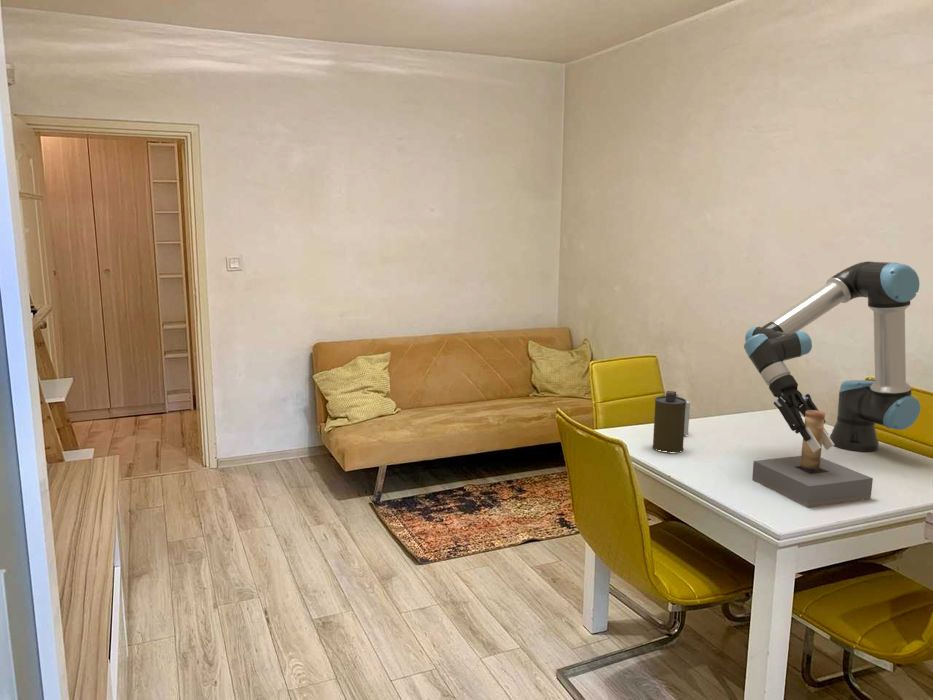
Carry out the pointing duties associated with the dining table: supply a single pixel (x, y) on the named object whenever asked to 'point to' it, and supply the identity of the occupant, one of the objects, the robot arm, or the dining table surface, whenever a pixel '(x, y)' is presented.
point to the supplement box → (686, 418)
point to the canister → (669, 422)
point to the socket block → (812, 481)
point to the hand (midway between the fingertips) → (823, 448)
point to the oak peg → (816, 425)
